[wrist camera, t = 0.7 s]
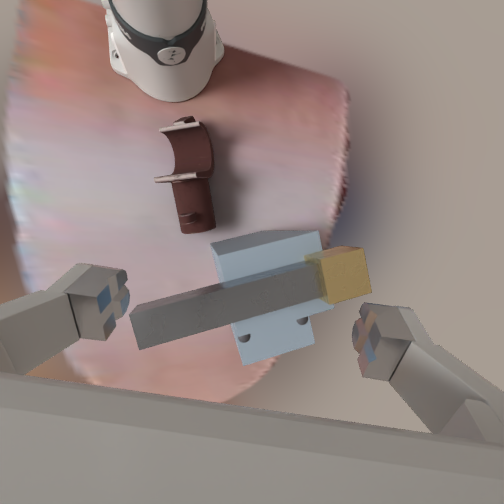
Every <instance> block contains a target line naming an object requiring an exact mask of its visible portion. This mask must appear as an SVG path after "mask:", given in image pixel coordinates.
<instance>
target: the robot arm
mask: <svg viewBox="0 0 504 504" xmlns="http://www.w3.org/2000/svg"><path fill="white" fill-rule="evenodd" d="M101 2H102V5H103V7H104V8H105V9H107V15H105V19H106V23H107V26H108V36H109V50H110V62H111V66H112V68H113V70H114V71H115V72H116V73H118V74H120V75H122V76H124V77H126V78H129V79H131V80H132V81H133V82H134V83H135V84H136V85H137V86H138V87H139V88H140V89H142V90H143V91H144V92H145V93H147V94H148V95H150V96H152V97H154V98H156V99H159V100H162V101H167V102H180V101H185V100H188V99H190V98H192V97H194V96H196V95H197V94H198V93H200V92H201V91H202V90H203V88H204V87H205V86H206V84H207V83H208V81H209V79H210V76H211V73H212V70H213V68H214V66H215V65H216V64H217V63H218V62H219V61H220V60H221V59H222V58H223V56H224V46H223V44H222V41H221V39H220V37H219V34H218V32H217V30H216V25H215V21H214V20H212V18H211V15H210V13H209V10H208V8H207V0H101ZM117 56H119V58H116V57H117ZM127 280H128V279H127V273H126V271H125V270H123V269H118V268H112V267H105V266H99V265H92V264H85V263H79V264H76V265H75V266H74V267H73V268H71V269H70V270H69V271H68V272H67V273H66V274H64V275H63V276H62V277H61V278H60V279H59V280H57V281H56V282H55V283H54V284H53V285H52V286H51V287H49V288H48V289H47V290H46V291H44V290H40V291H37V292H34V293H31V294H28V295H26V296H23V297H20V298H17V299H14V300H12V301H9V302H6V303H3V304H0V504H504V392H503V391H502V390H500V389H499V388H498V387H496V386H495V385H493V384H492V383H491V382H489V381H488V380H487V379H485V378H484V377H482V376H481V375H480V374H478V373H477V372H476V371H474V370H473V369H471V368H470V367H468V366H467V365H466V364H464V363H463V362H462V361H460V360H459V359H457V358H456V357H454V355H452V354H451V353H449V352H448V351H447V350H445V349H444V348H442V347H441V346H440V345H435V344H434V343H433V342H432V340H431V338H430V337H429V335H428V334H427V332H426V330H425V328H424V327H423V325H422V324H421V322H420V320H419V319H418V317H417V315H416V314H415V312H414V311H413V309H411V308H409V307H399V306H387V305H380V304H372V303H365V302H364V304H362V306H361V308H360V311H359V312H360V315H361V318H359V319H358V320H357V321H355V324H354V326H353V332H352V342H353V346H354V349H355V350H356V351H357V352H358V353H359V354H360V355H359V357H358V363H359V367H360V370H361V373H362V377H365V378H371V379H377V380H383V381H389V383H390V385H391V386H392V387H393V388H394V389H395V390H396V392H397V393H398V394H399V395H400V396H401V397H402V398H403V400H404V401H405V402H406V403H407V404H408V406H409V407H411V409H412V410H413V411H414V413H415V414H416V415H417V416H418V417H419V418H420V419H421V421H422V422H423V423H424V424H425V425H426V426H427V428H428V429H429V430H430V431H431V432H432V433H433V434H432V433H425V432H418V431H411V430H404V429H397V428H390V427H383V426H376V425H369V424H362V423H355V422H348V421H341V420H334V419H327V418H320V417H313V416H306V415H300V414H292V413H285V412H278V411H271V410H265V409H258V408H251V407H244V406H236V405H230V404H223V403H216V402H209V401H202V400H195V399H188V398H181V397H174V396H167V395H160V394H153V393H146V392H139V391H132V390H125V389H118V388H111V387H104V386H97V385H90V384H83V383H76V382H69V381H62V380H55V379H48V378H41V377H34V376H26V375H25V374H26V373H28V372H29V371H31V370H33V369H34V368H36V367H37V366H39V365H40V364H42V363H43V362H45V361H47V360H48V359H50V358H51V357H53V356H55V355H56V354H58V353H59V352H61V351H62V350H64V349H65V348H67V347H69V346H70V345H72V344H73V343H75V342H76V341H78V340H79V338H83V339H92V340H101V341H106V340H107V339H108V337H109V336H110V334H111V333H112V331H113V330H114V328H115V327H116V322H115V320H117V319H119V318H121V317H123V315H124V314H125V312H126V311H127V308H128V305H129V299H130V294H129V290H128V288H127V287H126V286H125V285H124V284H125V283H126V281H127Z"/></svg>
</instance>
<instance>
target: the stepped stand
mask: <svg viewBox="0 0 504 504" xmlns="http://www.w3.org/2000/svg"><path fill="white" fill-rule="evenodd" d="M210 245H211V249H212V253H213V257H214V261H215V265H216V269H217V273H218V277H219V281H220V283H222V282H226V281H230V280H233V279H237V278H241V277H245V276H248V275H252V274H256V273H260V272H263V271H267V270H271V269H275V268H278V267H282V266H286V265H290V264H293V263H297V262H301V261H305V260H304V255H308V254H311V253H315V252H319V251H323V250H322V246H321V241H320V236H319V231H260V232H256V233H252V234H248V235H244V236H240V237H235V238H231V239H227V240H223V241H219V242H215V243H211V244H210ZM331 309H334V304H331V305H329V304H327V303H326V302H324V301H322V300H320V299H319V298H318V299H314V300H311V301H307V302H304V303H300V304H297V305H293V306H290V307H286V308H283V309H280V310H276V311H273V312H269V313H266V314H262V315H259V316H255V317H252V318H249V319H245V320H242V321H238V322H235V323H231V327H232V331H233V334H234V337H235V340H236V344H237V347H238V350H239V353H240V357H241V360H242V363H243V366H245V365H248V364H251V363H254V362H257V361H261V360H264V359H267V358H270V357H273V356H277V355H280V354H283V353H286V352H289V351H292V350H295V349H299V348H302V347H305V346H308V345H311V344H314V343H315V341H314V336H313V332H312V327H311V323H310V318H309V316H310V315H314V314H317V313H320V312H323V311H327V310H331Z"/></svg>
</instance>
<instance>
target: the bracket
mask: <svg viewBox="0 0 504 504" xmlns="http://www.w3.org/2000/svg"><path fill="white" fill-rule="evenodd" d="M159 130H160V132H162V133H164V134H165V135H166V136H167V138H168V139H169V141H170V143H171V145H172V148H173V151H174V156H175V169H174V172H173V173H172V174H171V175H167V176H161V177H155V178H154V181H155V183H166V182H171V183H172V188H173V193H174V198H175V203H176V207H177V212H178V217H179V222H180V227H181V231H182V233H184V234H194V233H201V232H206V231H209V230H212V229H214V228H216V223H215V217H214V211H213V205H212V200H211V194H210V188H209V182H208V178H210V177H211V176H212V174H213V170H214V154H213V148H212V143H211V139H210V136H209V133H208V131H207V129H206V127H205V125H204V124H203V123H202V122H200V121H198V122H196V121H195V119H194V117H193V116H188V117H183V118H180V119H179V120H177V121H175V122H174V125H173V126H169V127H163V128H159Z"/></svg>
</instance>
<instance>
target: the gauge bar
mask: <svg viewBox="0 0 504 504" xmlns="http://www.w3.org/2000/svg"><path fill="white" fill-rule="evenodd" d="M304 260H305V261H301V262H297V263H293V264H290V265H286V266H282V267H278V268H275V269H271V270H267V271H263V272H260V273H256V274H252V275H248V276H245V277H241V278H237V279H233V280H230V281H226V282H222V283H218V284H215V285H211V286H207V287H203V288H200V289H196V290H192V291H188V292H185V293H181V294H177V295H173V296H170V297H166V298H162V299H158V300H155V301H151V302H147V303H143V304H140V305H137V306H136V307H135V308H134V310H133V311H132V312H131V313H130V314H129V316H130V320H131V323H132V327H133V330H134V334H135V337H136V340H137V344H138V347H139V350H142V349H145V348H149V347H152V346H155V345H159V344H162V343H166V342H169V341H173V340H176V339H180V338H183V337H187V336H190V335H193V334H197V333H200V332H204V331H207V330H211V329H214V328H218V327H221V326H224V325H228V324H231V323H235V322H238V321H242V320H245V319H249V318H252V317H255V316H259V315H262V314H266V313H269V312H273V311H276V310H280V309H283V308H286V307H290V306H293V305H297V304H300V303H304V302H307V301H311V300H314V299H318V298H319V299H320V300H322V301H324V302H326V303H327V304H329V305H331V304H335V303H338V302H341V301H345V300H348V299H352V298H355V297H358V296H362V295H365V294H368V293H372V290H371V285H370V280H369V275H368V269H367V264H366V259H365V254H364V249H363V248H359V247H349V246H338V247H334V248H330V249H327V250H323V251H319V252H315V253H311V254H308V255H304Z"/></svg>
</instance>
